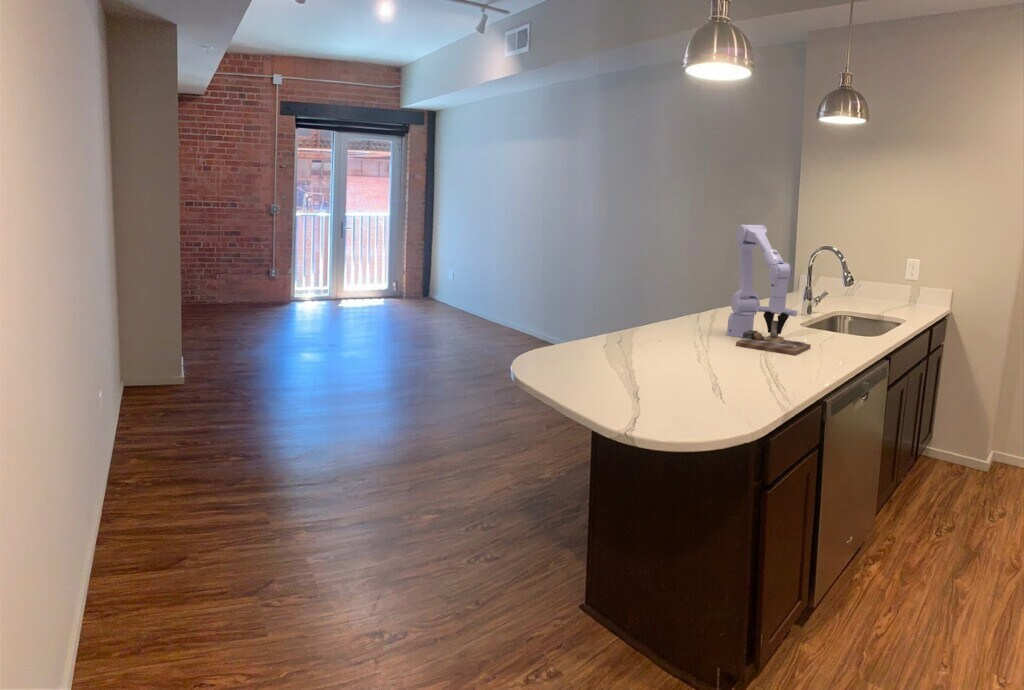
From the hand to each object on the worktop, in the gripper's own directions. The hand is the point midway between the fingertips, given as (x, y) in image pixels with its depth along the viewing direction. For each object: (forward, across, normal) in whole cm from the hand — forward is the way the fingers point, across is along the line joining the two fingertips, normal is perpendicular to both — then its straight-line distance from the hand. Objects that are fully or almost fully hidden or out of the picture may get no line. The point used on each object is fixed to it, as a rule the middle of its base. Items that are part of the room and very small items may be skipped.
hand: (774, 333), depth 267 cm
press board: (+5, 0, 0) cm, 5 cm away
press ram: (+4, 0, 0) cm, 4 cm away
